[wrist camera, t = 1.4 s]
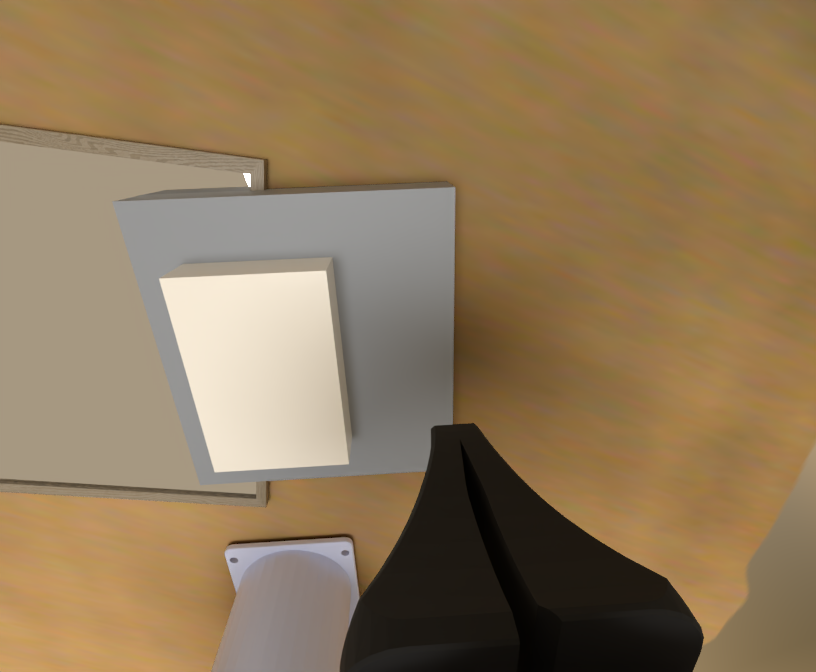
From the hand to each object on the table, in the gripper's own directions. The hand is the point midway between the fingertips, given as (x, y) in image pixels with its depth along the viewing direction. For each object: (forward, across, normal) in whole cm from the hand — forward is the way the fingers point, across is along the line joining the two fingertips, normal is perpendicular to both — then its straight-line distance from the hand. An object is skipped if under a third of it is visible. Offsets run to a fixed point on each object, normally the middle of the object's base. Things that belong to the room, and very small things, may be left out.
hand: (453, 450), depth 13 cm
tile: (+7, +7, 0) cm, 10 cm away
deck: (+9, +6, 0) cm, 11 cm away
